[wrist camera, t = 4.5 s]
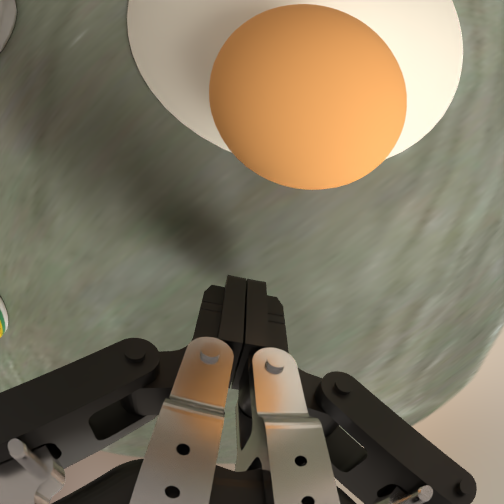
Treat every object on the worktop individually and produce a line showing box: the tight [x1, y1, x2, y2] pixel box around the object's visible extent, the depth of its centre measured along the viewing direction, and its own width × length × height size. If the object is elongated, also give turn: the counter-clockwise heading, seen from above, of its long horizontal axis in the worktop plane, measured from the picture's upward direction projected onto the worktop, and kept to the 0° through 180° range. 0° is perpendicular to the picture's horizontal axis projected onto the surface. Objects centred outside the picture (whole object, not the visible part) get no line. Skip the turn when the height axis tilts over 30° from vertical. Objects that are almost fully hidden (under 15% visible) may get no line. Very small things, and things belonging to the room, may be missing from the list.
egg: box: [209, 4, 407, 190], centre depth 7 cm, size 5×5×5 cm
